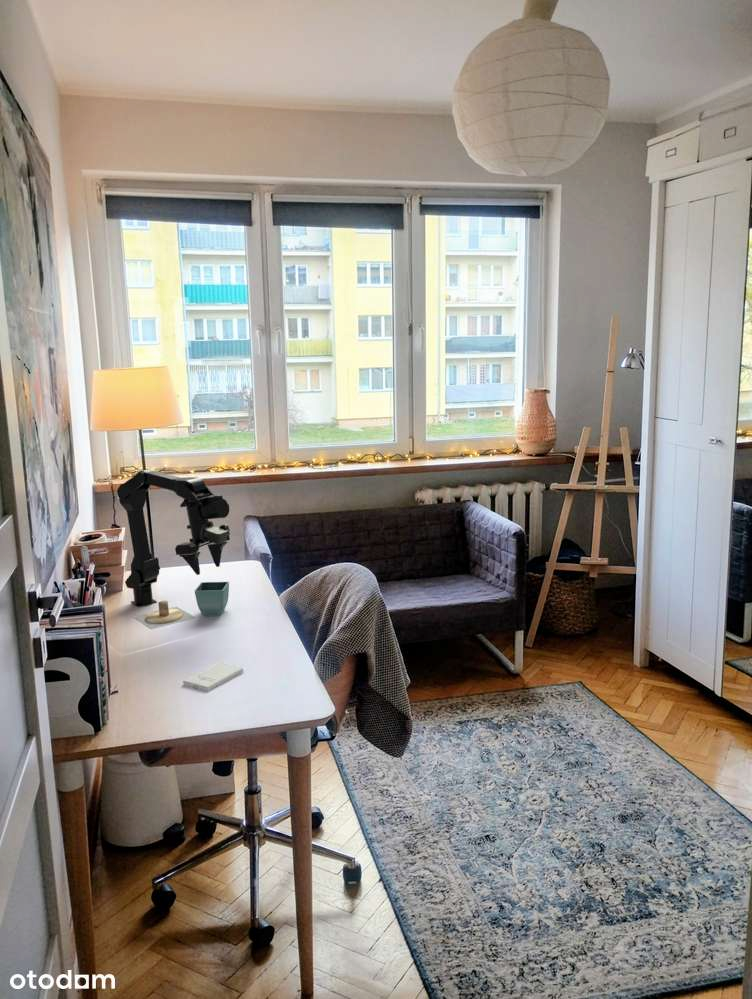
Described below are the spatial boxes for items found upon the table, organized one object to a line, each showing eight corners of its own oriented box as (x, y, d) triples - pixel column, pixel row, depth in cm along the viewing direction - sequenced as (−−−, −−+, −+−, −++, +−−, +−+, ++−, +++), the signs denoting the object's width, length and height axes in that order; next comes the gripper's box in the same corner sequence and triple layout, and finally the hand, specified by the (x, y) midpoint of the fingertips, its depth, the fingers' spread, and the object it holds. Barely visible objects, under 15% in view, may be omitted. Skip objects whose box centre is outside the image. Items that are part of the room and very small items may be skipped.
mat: (133, 618, 236) (133, 617, 236) (176, 607, 244) (176, 606, 244) (151, 630, 225) (151, 628, 225) (196, 618, 234) (196, 617, 234)
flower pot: (225, 618, 233) (223, 589, 231) (196, 619, 233) (193, 590, 231) (231, 609, 241) (229, 581, 240) (203, 609, 242) (201, 582, 240)
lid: (140, 617, 236) (138, 602, 235) (174, 608, 242) (172, 594, 241) (154, 626, 227) (152, 610, 226) (189, 617, 234) (187, 602, 233)
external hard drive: (243, 673, 193) (208, 693, 183) (219, 667, 197) (183, 686, 187) (243, 667, 193) (207, 686, 182) (218, 661, 197) (182, 679, 187)
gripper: (198, 524, 220) (209, 578, 222) (239, 511, 237) (248, 561, 239) (169, 527, 226) (179, 579, 228) (210, 514, 242) (219, 563, 244)
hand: (208, 570), depth 234 cm, fingers open, 9 cm apart
